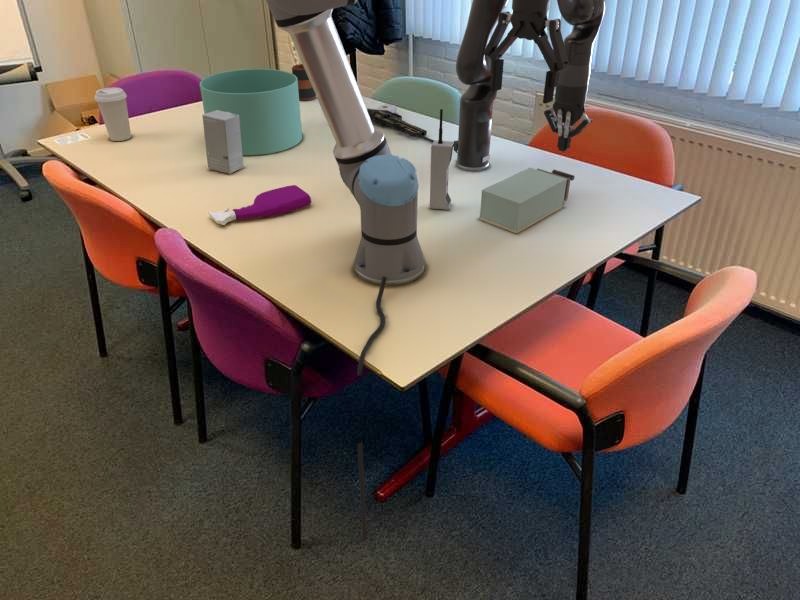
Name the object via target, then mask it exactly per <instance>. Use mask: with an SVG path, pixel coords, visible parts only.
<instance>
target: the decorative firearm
mask: <svg viewBox="0 0 800 600" xmlns="http://www.w3.org/2000/svg"><path fill="white" fill-rule="evenodd" d="M366 108H367V111H368V113H369V116H370V119H371V121H373V122H374V123H377V124H379V125H382V126H383V127H384V126H389V127H391V128H393V129H395V130H397V131H399V132H401V133H404V134H406V135H408V136H411V137H415V138H416V137H418V136H424V137H427V132H428V130H426V129H423V128H421V127H420V126H416V125H413V124H411V123H409V122H406V121H405V120H403V115H401V114H399V113H397V110H398V107H397V105H393V104H388V103H385V104H382V105H379V106H378V107H376V108H369V107H366Z"/></svg>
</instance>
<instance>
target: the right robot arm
mask: <svg viewBox="0 0 800 600" xmlns="http://www.w3.org/2000/svg"><path fill="white" fill-rule="evenodd" d="M509 2H510V0H472V1H471V6H470V10H469V15H468V19H467V24H466V26H465V27H466V28H465V30H464V34H463V36H462V41H461V44H460V47H459V50H458V52H457V56H456V63H455V71H456V75H457V78H458V80H459V81H460V82H461V83H462V84H463V85H465V86H468V88H467V89H466V90H465V91H464V92H463V94H462V95H461V96H460V97H459V98H460V99H459V113H458V114H459V115H458V117H459V118H458V133H457V134H458V136H457V137H458V138H457V140H453V142H454V144H453V152H455V153H456V154H457V155H456V167H457V168H458V169H461V170H463V171H468V172H469V171H470V172H479V171H484V170H486V169H488V168H489V166H490V160H491V154H490V150H491V137H492V127H493V113H494V112H493V111H494V102H495V100H496V98H497V95H498V91H495V92H494V91H492V79H493V75H492V74H491V58H490V57H489V56H485V55H484V51H485V49H486V47H487V45H488V43H489V40H490V36H491V35H492V34H491V33H493V29H495V26H496V25H497V24H498V19H499V14H500V13H503V12H505V10H506V8H507V6H508V4H509ZM556 3H557V7H558V10H559V14H560V15H561V17H562V19H563V20H564V22H566V23H567V24H568V25H571V26H572V31H571V32H570V33H569V34H568V35H567V36H566V37H565V38H563V42H564V46H565V50H566V53H567V57H568V61H569V68H567V69H564V70H561V71H560V74H559V81H558V86H557V87H555V91H554V101H553V104H552V107H550V108H548V109H546V110H544V111H543V114H544V117H545V118H546V121H547V123H548V125H549V127H550V129H551V132H552V133H555V134H557V136H558V138H557V145H556V146H557V149H558V151H559V152H563V153H565V152H567V151H568V150H569V149H570V147H571V143H572V138H574V137H576V136H579V135H580V134H581V133H582V132H583V131H584V130H586V128H587V127H588V126H590V124H591V123H593V118H592V117H588V115H587V114H586V106H585V105H586V102H587V96H588V91H589V83H590V78H591V77H590V76H591V64H592V58H593V50H594V44H595V41H596V38H597V36H598V34H599V31H600V27H601V26H602V22H603V20H604V16H605V11H606V3H605V0H556ZM578 121H579V124H578V125H577V123H578ZM576 125H577V126H576ZM417 137H418V138H420V139H423V140H425V141H428V142H431V143H433V142H434V141H435V140H434V139H432V138H429V137H427V136H425V137H424V136H417Z"/></svg>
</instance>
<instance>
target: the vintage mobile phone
mask: <svg viewBox="0 0 800 600" xmlns="http://www.w3.org/2000/svg"><path fill="white" fill-rule="evenodd" d="M443 112H444V109H443V108H440V109H439V128H438V140H436V139H435V140H434V142H432V144H431V146H430V176H429V177H430V179H429V180H430V181H429V208H430V209H435V210H446V211H448V210H450V208H451V205H452V199H451V197H450V195H449V173H450V171H449V169H450V164H451V161H452V157H453V152H454V147H453V144H454V141H450V140H443V115H444V114H443Z"/></svg>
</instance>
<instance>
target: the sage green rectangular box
mask: <svg viewBox="0 0 800 600" xmlns="http://www.w3.org/2000/svg"><path fill="white" fill-rule="evenodd" d="M536 169H537V168H533V167H528V168H526V169H524V170H521V171H519V172H517V173H515V174H513V175H511V176H508V177H507V178H505V179H502V180H500V181H498V182H496V183H494V184H492V185H490V186H487V187H485V188H483V189H481V194H480V195H481V197H480V207H479V209H480V210H479V220H480V221H482V222H485V223H487V224H490V225H493V226H495V227H498V228H500V229H504V230H505V231H509V232H510V233H513V234H516V235H517V234H519V233H521V232H523V231H524V230H526V229H527V228H529V227H531V226H534V225H535V224H537V223H538V222H540V221H542V220H543V219H545V218H547V217H549V216H550V215H552V214H554V213H556V212H558V211H560V210H561V209H563V208H564V202H565V201H564V196H565V189H566V182H567V179H565V178H562V177H559V176H556V175H553V174H549V173H546V172H543V171H540V170H536Z"/></svg>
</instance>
